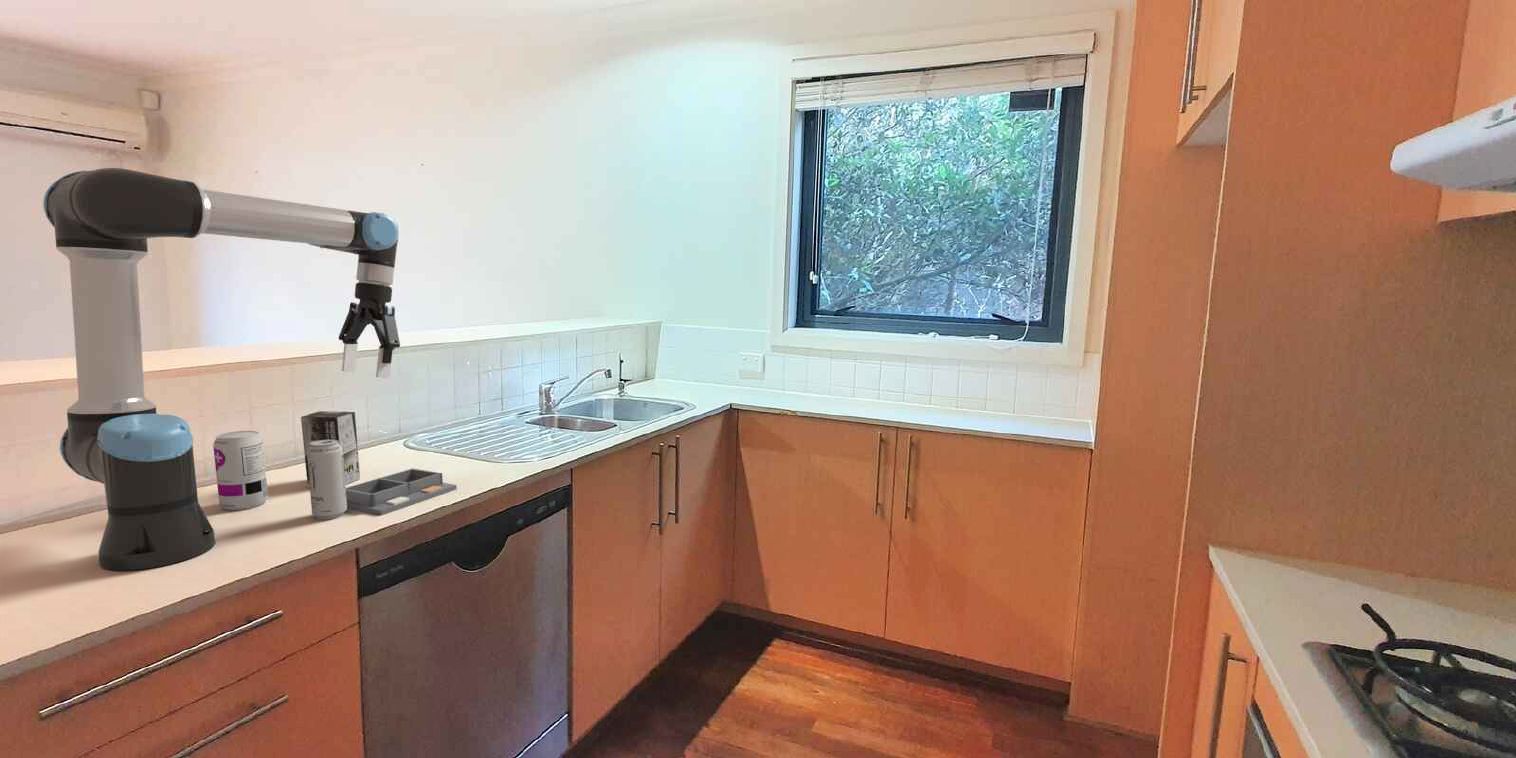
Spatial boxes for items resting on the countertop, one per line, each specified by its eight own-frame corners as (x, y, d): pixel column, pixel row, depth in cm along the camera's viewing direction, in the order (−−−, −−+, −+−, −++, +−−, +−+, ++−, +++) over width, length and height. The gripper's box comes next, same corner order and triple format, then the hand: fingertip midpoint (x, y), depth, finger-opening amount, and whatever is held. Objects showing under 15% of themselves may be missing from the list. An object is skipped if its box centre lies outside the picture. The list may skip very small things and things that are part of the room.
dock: (381, 515, 140) (380, 498, 140) (337, 506, 145) (335, 490, 145) (456, 489, 158) (455, 474, 157) (414, 482, 163) (413, 467, 162)
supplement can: (220, 514, 140) (213, 441, 138) (218, 503, 146) (211, 433, 144) (270, 506, 145) (263, 435, 143) (266, 496, 151) (259, 428, 149)
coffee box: (361, 478, 165) (356, 411, 163) (342, 486, 159) (337, 416, 156) (325, 477, 166) (320, 410, 164) (305, 485, 160) (299, 415, 157)
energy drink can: (307, 515, 139) (301, 442, 137) (340, 508, 144) (335, 437, 142) (318, 522, 135) (312, 447, 133) (352, 515, 140) (346, 442, 138)
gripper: (422, 288, 160) (413, 380, 160) (359, 284, 172) (350, 369, 172) (391, 283, 153) (381, 379, 154) (327, 279, 165) (318, 368, 166)
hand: (365, 374), depth 163 cm, fingers open, 13 cm apart
